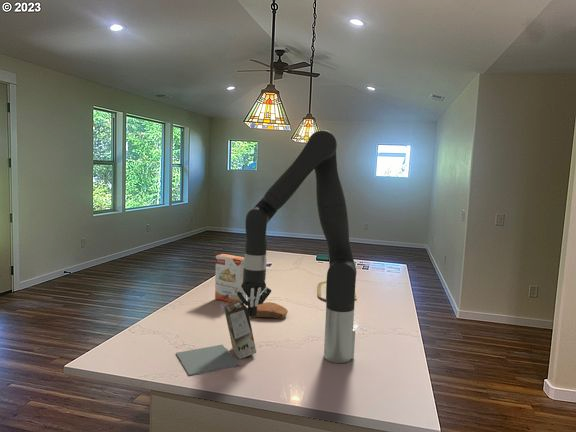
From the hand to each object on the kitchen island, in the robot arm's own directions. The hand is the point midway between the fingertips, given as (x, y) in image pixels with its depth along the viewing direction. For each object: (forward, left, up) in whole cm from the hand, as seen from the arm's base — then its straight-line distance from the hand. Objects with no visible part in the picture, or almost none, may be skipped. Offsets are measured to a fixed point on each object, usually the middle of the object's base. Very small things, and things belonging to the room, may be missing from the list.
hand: (251, 316), depth 143 cm
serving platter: (-66, -44, -13) cm, 81 cm away
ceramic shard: (-20, -27, -13) cm, 36 cm away
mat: (+16, +1, -12) cm, 20 cm away
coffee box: (+3, +1, -12) cm, 12 cm away
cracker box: (-12, -52, -12) cm, 55 cm away
